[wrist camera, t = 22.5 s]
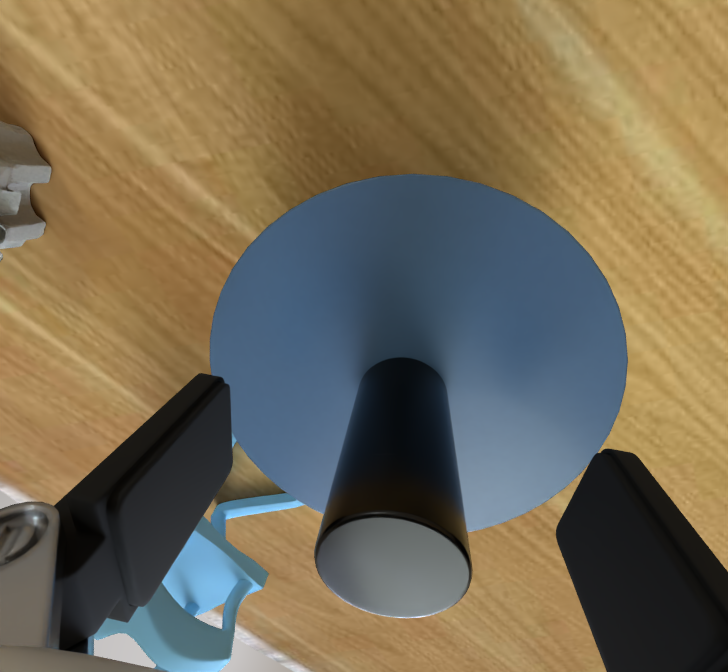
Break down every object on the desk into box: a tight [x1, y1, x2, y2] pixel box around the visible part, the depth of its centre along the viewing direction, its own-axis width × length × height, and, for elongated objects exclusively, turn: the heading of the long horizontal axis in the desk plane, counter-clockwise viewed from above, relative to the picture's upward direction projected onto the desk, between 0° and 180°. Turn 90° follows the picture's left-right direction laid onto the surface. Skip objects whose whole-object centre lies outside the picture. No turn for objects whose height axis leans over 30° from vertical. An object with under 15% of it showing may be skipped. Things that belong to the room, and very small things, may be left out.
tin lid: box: [210, 174, 628, 618], centre depth 10 cm, size 14×14×7 cm
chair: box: [94, 433, 304, 672], centre depth 22 cm, size 8×8×12 cm
